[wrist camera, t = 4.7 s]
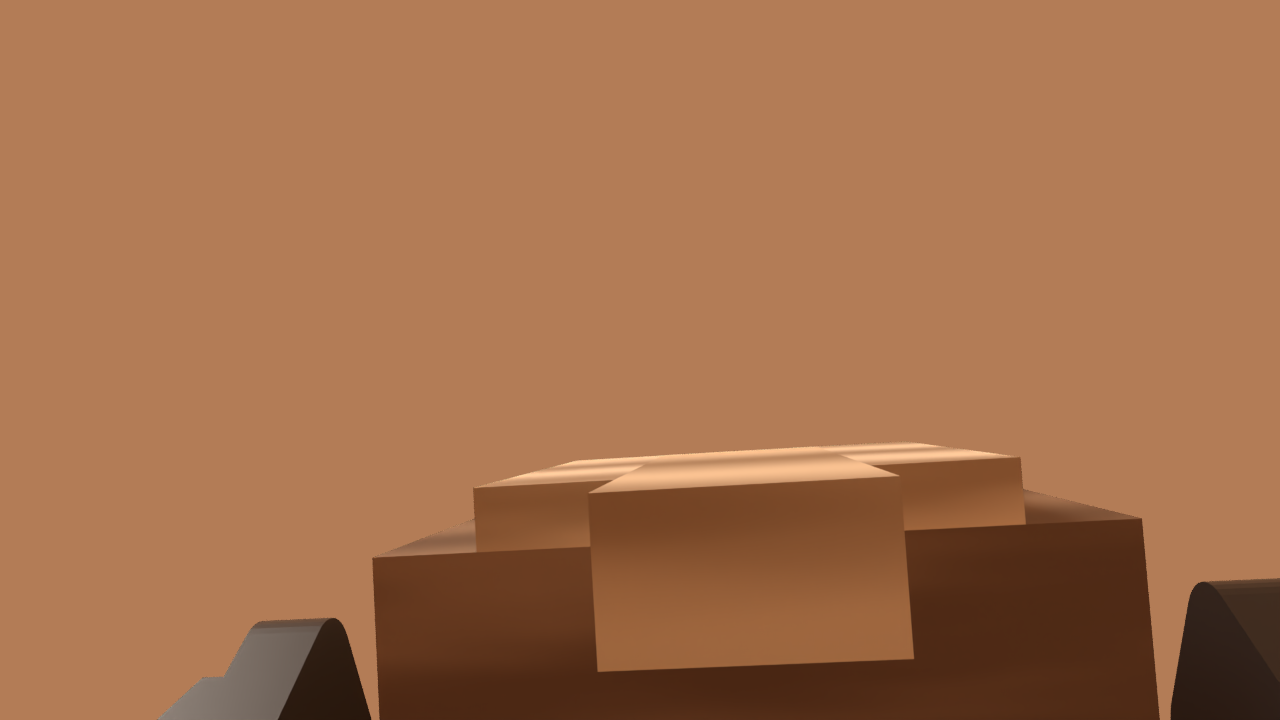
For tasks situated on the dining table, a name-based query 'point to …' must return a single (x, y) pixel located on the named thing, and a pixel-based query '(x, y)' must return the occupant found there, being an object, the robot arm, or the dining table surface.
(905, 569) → the tan stepped slab
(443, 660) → the walnut plinth
